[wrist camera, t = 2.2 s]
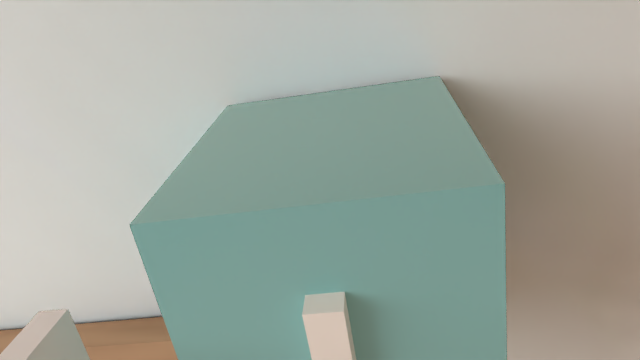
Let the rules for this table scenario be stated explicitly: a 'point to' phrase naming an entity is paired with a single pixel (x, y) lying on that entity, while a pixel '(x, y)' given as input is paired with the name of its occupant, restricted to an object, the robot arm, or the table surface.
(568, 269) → the table surface
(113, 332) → the wooden peg board
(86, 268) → the table surface
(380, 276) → the teal rectangular block
